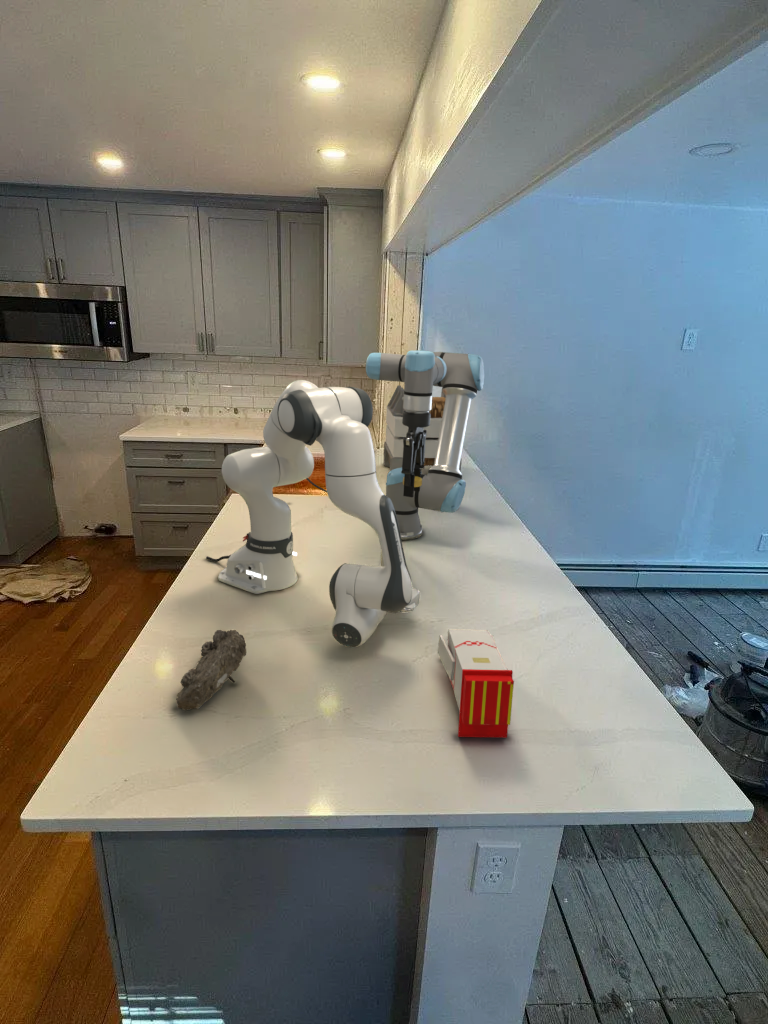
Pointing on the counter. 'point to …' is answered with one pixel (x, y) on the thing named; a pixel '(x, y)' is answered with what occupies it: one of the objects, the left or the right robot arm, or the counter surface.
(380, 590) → the left robot arm
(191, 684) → the fossil
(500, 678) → the toy
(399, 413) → the grey slatted box
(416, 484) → the lid
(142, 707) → the counter surface
